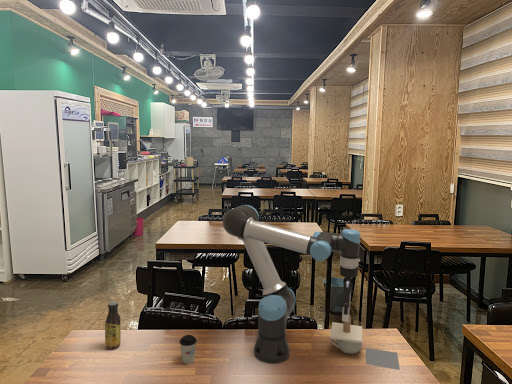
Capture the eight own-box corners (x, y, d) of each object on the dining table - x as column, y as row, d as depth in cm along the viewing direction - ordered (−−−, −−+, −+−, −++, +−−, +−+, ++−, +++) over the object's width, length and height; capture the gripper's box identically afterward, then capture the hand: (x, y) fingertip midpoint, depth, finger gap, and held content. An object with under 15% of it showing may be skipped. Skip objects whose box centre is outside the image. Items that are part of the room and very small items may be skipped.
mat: (365, 364, 149) (365, 363, 149) (365, 348, 161) (365, 347, 161) (399, 370, 145) (399, 369, 145) (397, 353, 158) (397, 352, 158)
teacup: (357, 343, 165) (358, 327, 164) (365, 357, 154) (366, 339, 153) (326, 344, 165) (327, 327, 164) (332, 357, 154) (333, 339, 153)
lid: (329, 338, 154) (330, 320, 153) (332, 324, 167) (333, 307, 166) (362, 343, 151) (363, 324, 150) (362, 328, 163) (363, 311, 162)
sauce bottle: (102, 349, 157) (100, 305, 155) (111, 341, 164) (109, 299, 161) (115, 351, 156) (114, 306, 154) (124, 344, 162) (123, 300, 160)
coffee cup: (176, 360, 150) (176, 337, 149) (191, 354, 155) (191, 331, 154) (184, 368, 145) (184, 344, 144) (200, 361, 150) (200, 338, 148)
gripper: (357, 277, 142) (354, 329, 145) (358, 258, 166) (355, 303, 168) (337, 274, 144) (334, 325, 147) (341, 257, 168) (339, 301, 171)
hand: (346, 314), depth 158 cm, fingers open, 13 cm apart
